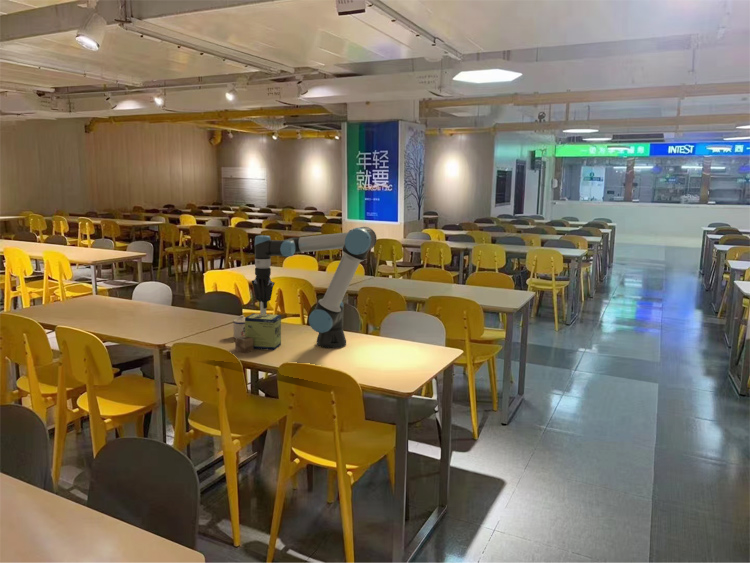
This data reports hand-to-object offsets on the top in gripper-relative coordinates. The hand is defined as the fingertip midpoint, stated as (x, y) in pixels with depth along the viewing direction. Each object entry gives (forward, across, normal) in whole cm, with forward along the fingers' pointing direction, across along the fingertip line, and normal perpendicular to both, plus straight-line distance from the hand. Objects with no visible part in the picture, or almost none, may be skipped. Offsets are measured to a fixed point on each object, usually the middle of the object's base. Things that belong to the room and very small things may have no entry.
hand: (263, 314), depth 281 cm
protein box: (+17, 0, 0) cm, 17 cm away
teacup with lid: (+17, -21, +9) cm, 28 cm away
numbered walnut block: (+17, -3, -10) cm, 20 cm away
